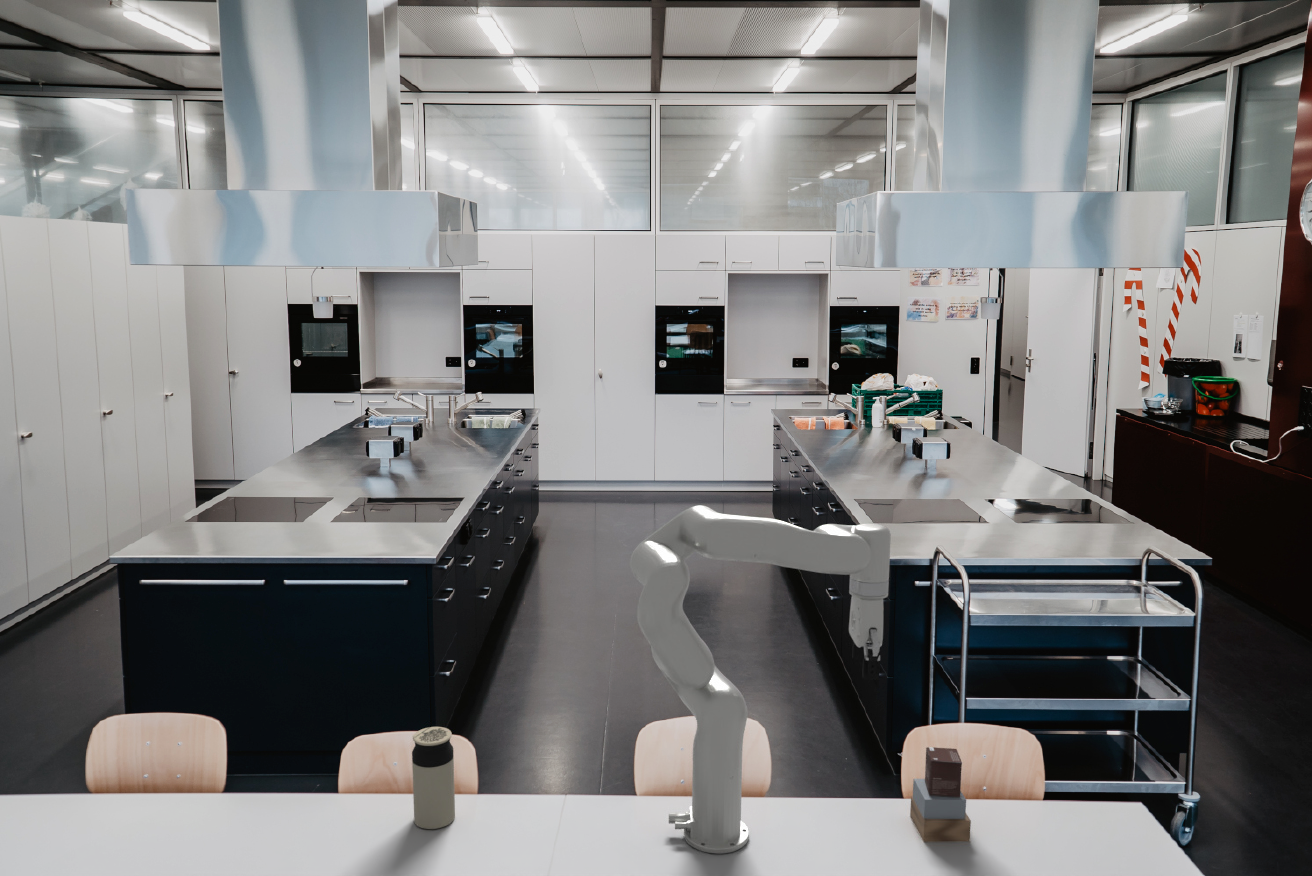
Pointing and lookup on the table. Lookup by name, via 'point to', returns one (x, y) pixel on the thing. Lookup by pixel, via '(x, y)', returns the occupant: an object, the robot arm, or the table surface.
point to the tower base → (940, 827)
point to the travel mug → (433, 778)
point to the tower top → (937, 803)
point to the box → (943, 772)
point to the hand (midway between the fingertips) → (865, 669)
